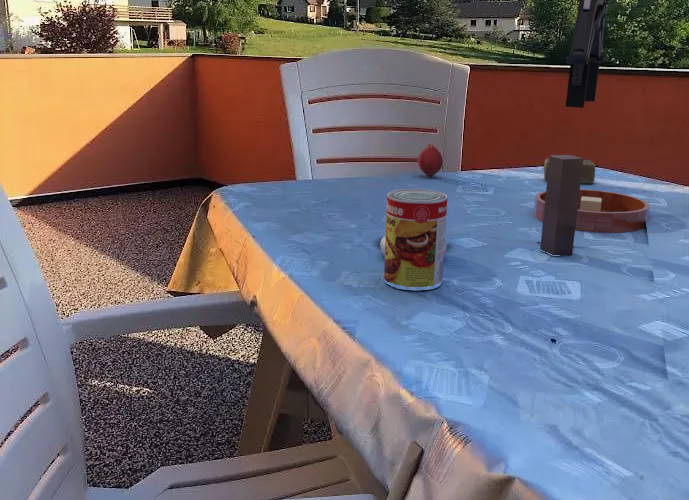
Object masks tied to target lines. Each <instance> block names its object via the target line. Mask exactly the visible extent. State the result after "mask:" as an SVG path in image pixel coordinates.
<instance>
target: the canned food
mask: <svg viewBox="0 0 689 500" xmlns="http://www.w3.org/2000/svg"><path fill="white" fill-rule="evenodd" d="M447 212H448V195H447V194H445V193H444V192H441V191H438V190H432V189H425V188H424V189H423V188H401V189H395V190H391V191H389V192H388V193H386V214H385V235H386V238H385V255H384V266H383V267H384V269H383V270H384V271H383V272H384V273H383V280H384V279H385V280H386V281H387V282H390V283H393V284H395V285H399V286H400V285H401V286H405V287H427V286H433V285H436V284H439V283H440V282H442V283H443V279H444V278H443V277H444V261H445V254H444V247H445V242H446V230H447V229H446V227H447Z"/></svg>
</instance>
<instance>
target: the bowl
mask: <svg viewBox="0 0 689 500" xmlns="http://www.w3.org/2000/svg"><path fill="white" fill-rule="evenodd" d="M582 196H584V197H596V198H602V202H601V210H600V212H595V211H584V210H580V204H581V198H582ZM545 197H546V190H543V191H540V192H538V193H536V195H535V196H534V204H533V216H534V218H535V219H537V220H538V221H540V222H542V223H543V216H544V206H545ZM650 210H651V205H650V203H649V202H647V201H646V200H645V199H641V198H639V197H637V196H633V195H629V194H624V193H619V192H613V191H607V190H600V189H599V190H598V189H588V188H580V193H579V201H578V210H577V218H576V227H575V231H578V232H579V231H580V232H588V233H600V234H601V233H602V234H623V233H632V232H638V231H641V230H644V229H645V228H646V227H647V220H649V215H650Z"/></svg>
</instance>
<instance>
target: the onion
mask: <svg viewBox="0 0 689 500" xmlns="http://www.w3.org/2000/svg"><path fill="white" fill-rule="evenodd" d="M443 159H444V158H443V155H442V154H441V152H440V151H439V150H438V149H437V148H436V147H435V145H434V143H431V142H430V143H428V144H427V147H426V148H424V149H423V150H421V152H420V153H419V156H418V160H417V166H418V168H419V170H420V171H421V172H422V173H423V174H424V175H425V176H426V177H428V178H432V177H433V176H435V175H436V174H438V173H439V172H440V170H442V167H443V163H444V161H443Z"/></svg>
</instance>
